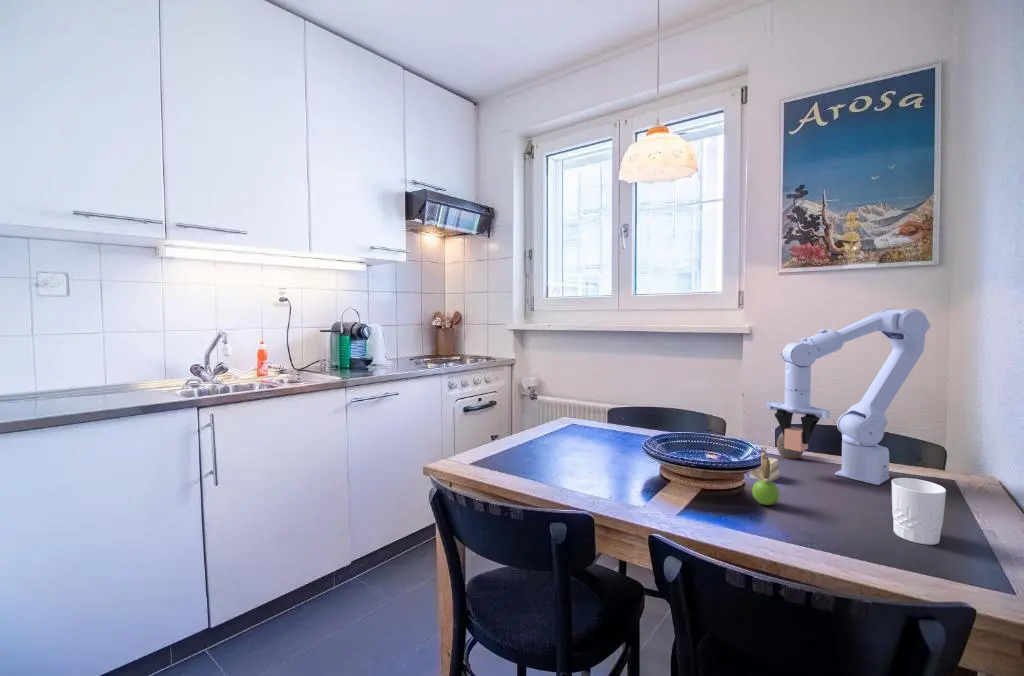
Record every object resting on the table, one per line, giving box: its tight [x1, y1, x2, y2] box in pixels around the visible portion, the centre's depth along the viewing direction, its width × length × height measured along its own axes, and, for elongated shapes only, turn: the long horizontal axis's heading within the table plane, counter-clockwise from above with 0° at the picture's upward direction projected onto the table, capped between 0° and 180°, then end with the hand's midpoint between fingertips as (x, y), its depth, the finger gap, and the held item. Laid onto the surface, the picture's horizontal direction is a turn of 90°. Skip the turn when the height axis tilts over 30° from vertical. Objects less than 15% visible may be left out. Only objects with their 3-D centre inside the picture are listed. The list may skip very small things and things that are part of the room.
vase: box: [776, 432, 805, 460], centre depth 139 cm, size 7×7×9 cm
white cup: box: [891, 477, 947, 546], centre depth 91 cm, size 8×8×10 cm
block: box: [784, 426, 809, 452], centre depth 124 cm, size 4×4×5 cm
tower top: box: [756, 456, 779, 474], centre depth 123 cm, size 5×5×2 cm
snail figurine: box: [751, 446, 780, 506], centre depth 107 cm, size 5×6×12 cm
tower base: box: [749, 468, 780, 482], centre depth 123 cm, size 5×5×2 cm
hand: (796, 441), depth 124 cm, fingers closed on block, 4 cm apart
